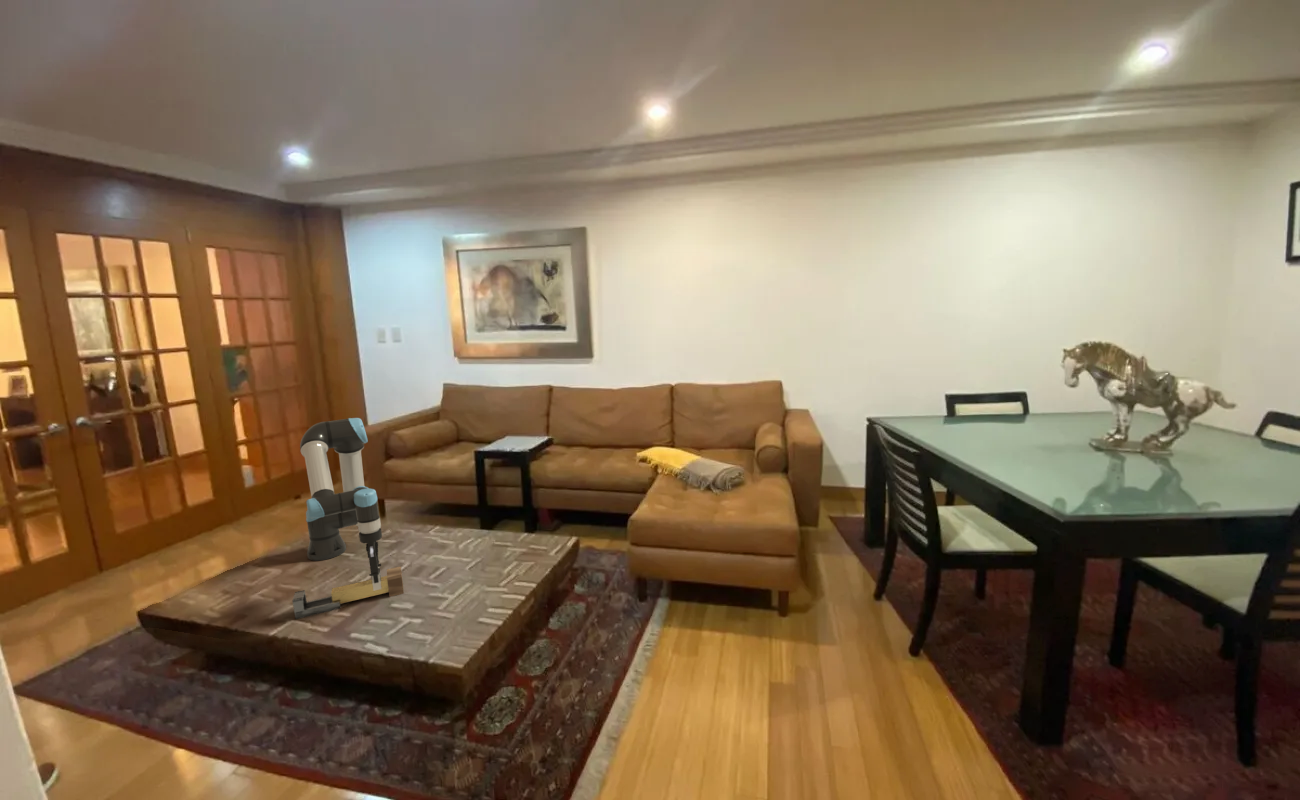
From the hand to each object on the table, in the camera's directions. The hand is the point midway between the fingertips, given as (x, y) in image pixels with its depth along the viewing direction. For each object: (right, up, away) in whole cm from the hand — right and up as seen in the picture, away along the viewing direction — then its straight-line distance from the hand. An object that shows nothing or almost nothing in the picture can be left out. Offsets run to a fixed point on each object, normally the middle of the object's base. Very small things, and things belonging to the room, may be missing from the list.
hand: (377, 586), depth 202 cm
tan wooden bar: (-4, -3, -1) cm, 5 cm away
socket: (+6, -3, +3) cm, 7 cm away
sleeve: (-18, -6, -8) cm, 20 cm away
